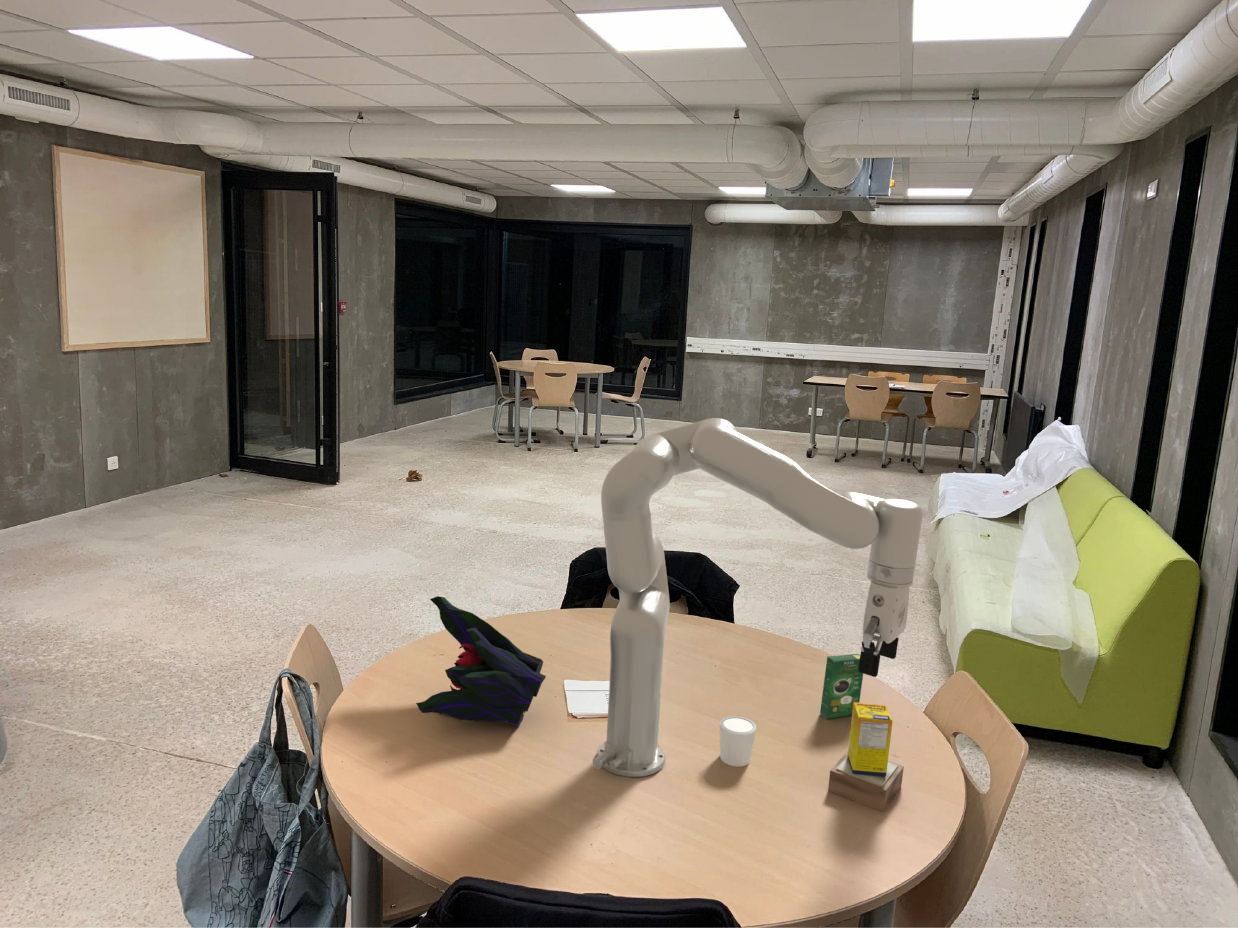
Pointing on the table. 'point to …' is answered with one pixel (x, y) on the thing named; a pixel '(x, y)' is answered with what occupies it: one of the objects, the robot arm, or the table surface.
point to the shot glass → (736, 740)
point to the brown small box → (865, 784)
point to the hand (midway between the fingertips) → (877, 665)
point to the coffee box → (841, 686)
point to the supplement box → (869, 739)
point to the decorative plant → (484, 672)
